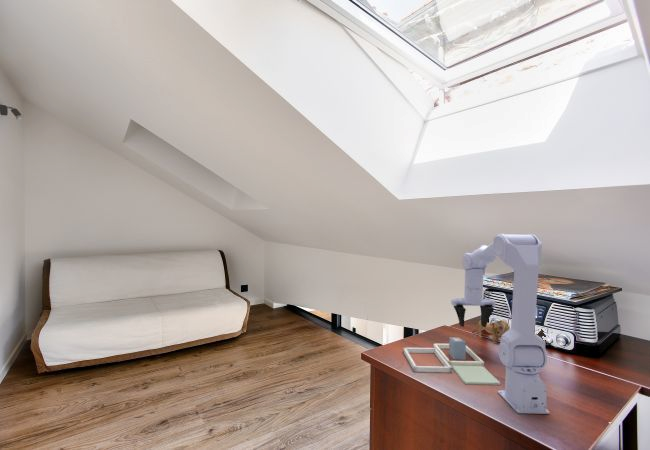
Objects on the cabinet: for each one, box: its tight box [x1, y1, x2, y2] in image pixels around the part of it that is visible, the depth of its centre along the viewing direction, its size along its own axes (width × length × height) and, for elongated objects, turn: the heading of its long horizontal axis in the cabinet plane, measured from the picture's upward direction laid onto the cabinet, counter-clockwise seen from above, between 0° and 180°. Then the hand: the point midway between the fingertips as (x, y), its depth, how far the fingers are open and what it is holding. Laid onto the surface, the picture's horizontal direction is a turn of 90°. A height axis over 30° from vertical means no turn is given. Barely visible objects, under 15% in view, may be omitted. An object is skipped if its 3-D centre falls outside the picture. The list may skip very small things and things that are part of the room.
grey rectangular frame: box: [402, 347, 453, 374], centre depth 105 cm, size 15×12×2 cm
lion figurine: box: [472, 319, 511, 345], centre depth 125 cm, size 15×5×9 cm, turn 34°
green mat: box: [452, 366, 501, 386], centre depth 96 cm, size 10×10×1 cm
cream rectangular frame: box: [432, 343, 485, 368], centre depth 109 cm, size 15×12×2 cm
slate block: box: [448, 336, 467, 361], centre depth 109 cm, size 4×4×6 cm
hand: (472, 325), depth 111 cm, fingers open, 7 cm apart
